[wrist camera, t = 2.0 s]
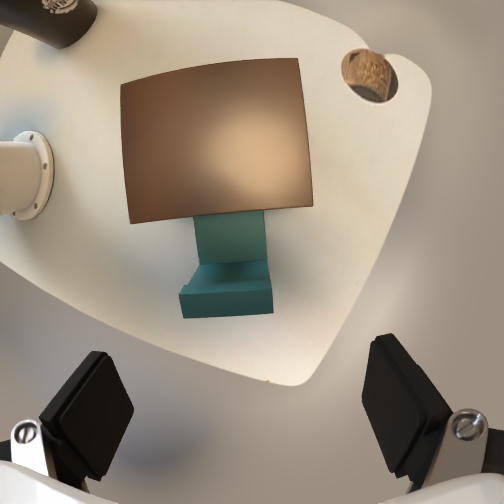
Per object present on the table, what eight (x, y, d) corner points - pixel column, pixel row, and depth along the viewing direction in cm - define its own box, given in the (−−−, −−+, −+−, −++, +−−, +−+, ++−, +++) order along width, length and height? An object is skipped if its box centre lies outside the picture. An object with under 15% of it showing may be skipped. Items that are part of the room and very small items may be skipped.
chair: (265, 257, 30) (273, 313, 18) (211, 261, 30) (183, 318, 18) (259, 178, 28) (263, 177, 15) (202, 184, 28) (162, 189, 16)
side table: (177, 206, 29) (129, 224, 17) (169, 116, 26) (120, 84, 15) (289, 195, 28) (313, 206, 17) (281, 103, 26) (298, 57, 14)
